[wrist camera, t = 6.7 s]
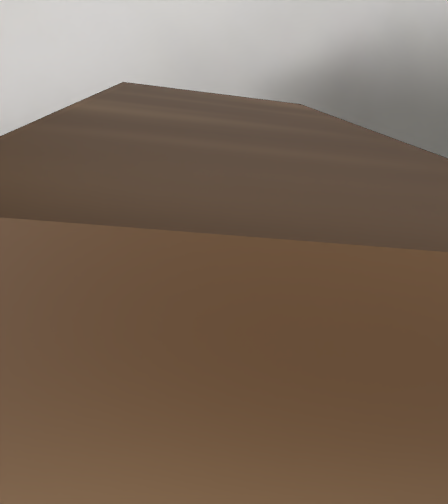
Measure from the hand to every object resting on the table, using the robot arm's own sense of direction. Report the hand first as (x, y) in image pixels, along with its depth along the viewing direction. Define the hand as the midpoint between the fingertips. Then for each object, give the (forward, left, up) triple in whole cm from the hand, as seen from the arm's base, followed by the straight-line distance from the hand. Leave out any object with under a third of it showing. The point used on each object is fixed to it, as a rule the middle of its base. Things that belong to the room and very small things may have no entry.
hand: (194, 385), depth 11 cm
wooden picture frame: (0, 0, -2) cm, 2 cm away
